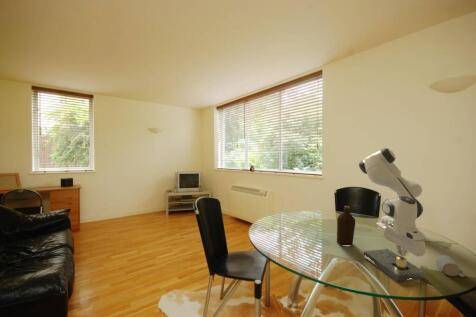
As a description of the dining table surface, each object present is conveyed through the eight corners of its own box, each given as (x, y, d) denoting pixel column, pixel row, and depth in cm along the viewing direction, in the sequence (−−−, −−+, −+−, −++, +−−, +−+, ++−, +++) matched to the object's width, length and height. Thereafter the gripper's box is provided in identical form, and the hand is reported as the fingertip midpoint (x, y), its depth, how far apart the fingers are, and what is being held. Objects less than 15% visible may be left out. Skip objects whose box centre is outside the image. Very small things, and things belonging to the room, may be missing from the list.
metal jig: (363, 257, 130) (364, 251, 130) (387, 254, 133) (387, 248, 133) (397, 282, 109) (397, 275, 108) (424, 278, 112) (424, 271, 111)
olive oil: (357, 246, 142) (360, 208, 139) (342, 248, 140) (344, 209, 137) (346, 238, 152) (349, 203, 149) (332, 240, 150) (334, 204, 147)
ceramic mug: (442, 275, 114) (444, 261, 113) (434, 266, 122) (436, 253, 121) (468, 280, 110) (471, 266, 109) (459, 271, 118) (462, 257, 117)
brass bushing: (392, 270, 118) (394, 256, 117) (399, 269, 119) (401, 255, 118) (400, 275, 114) (401, 260, 113) (407, 274, 115) (409, 259, 114)
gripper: (381, 221, 123) (379, 245, 125) (418, 239, 103) (415, 267, 105) (391, 220, 124) (389, 244, 126) (429, 237, 104) (426, 265, 106)
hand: (401, 254), depth 115 cm, fingers closed
